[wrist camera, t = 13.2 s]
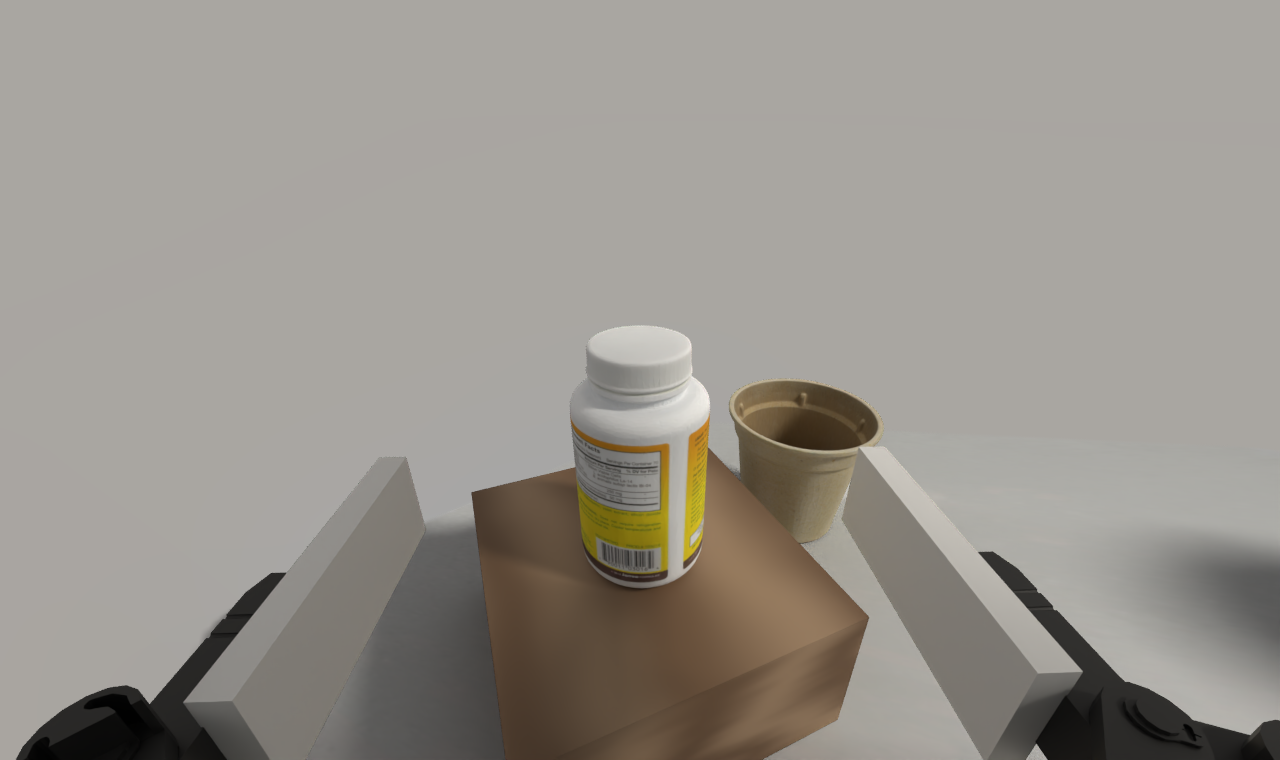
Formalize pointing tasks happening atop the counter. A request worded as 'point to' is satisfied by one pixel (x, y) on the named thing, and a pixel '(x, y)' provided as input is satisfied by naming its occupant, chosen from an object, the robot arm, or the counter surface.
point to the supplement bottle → (640, 455)
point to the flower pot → (801, 448)
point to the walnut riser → (659, 634)
